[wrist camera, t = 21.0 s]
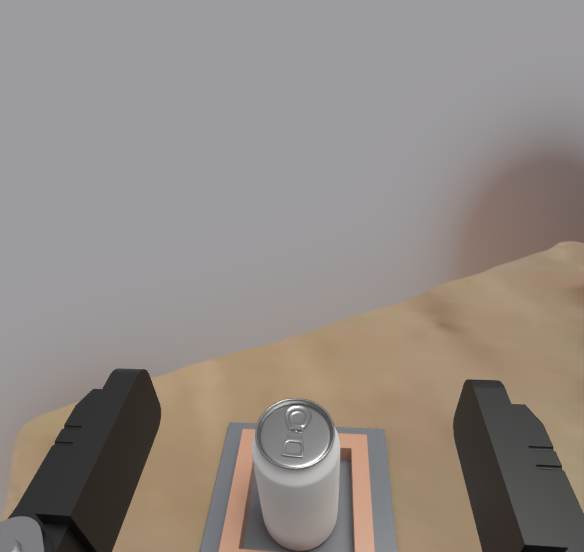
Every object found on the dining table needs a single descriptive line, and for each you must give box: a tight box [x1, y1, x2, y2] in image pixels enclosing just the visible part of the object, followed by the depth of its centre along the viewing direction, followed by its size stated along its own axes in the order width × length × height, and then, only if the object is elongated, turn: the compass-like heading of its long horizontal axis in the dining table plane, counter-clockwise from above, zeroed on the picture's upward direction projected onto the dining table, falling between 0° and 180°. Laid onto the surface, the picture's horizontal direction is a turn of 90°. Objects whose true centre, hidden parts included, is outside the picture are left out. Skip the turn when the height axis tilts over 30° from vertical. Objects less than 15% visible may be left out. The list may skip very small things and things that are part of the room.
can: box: [252, 398, 340, 551], centre depth 33 cm, size 6×6×12 cm
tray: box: [200, 422, 397, 552], centre depth 37 cm, size 16×16×3 cm
